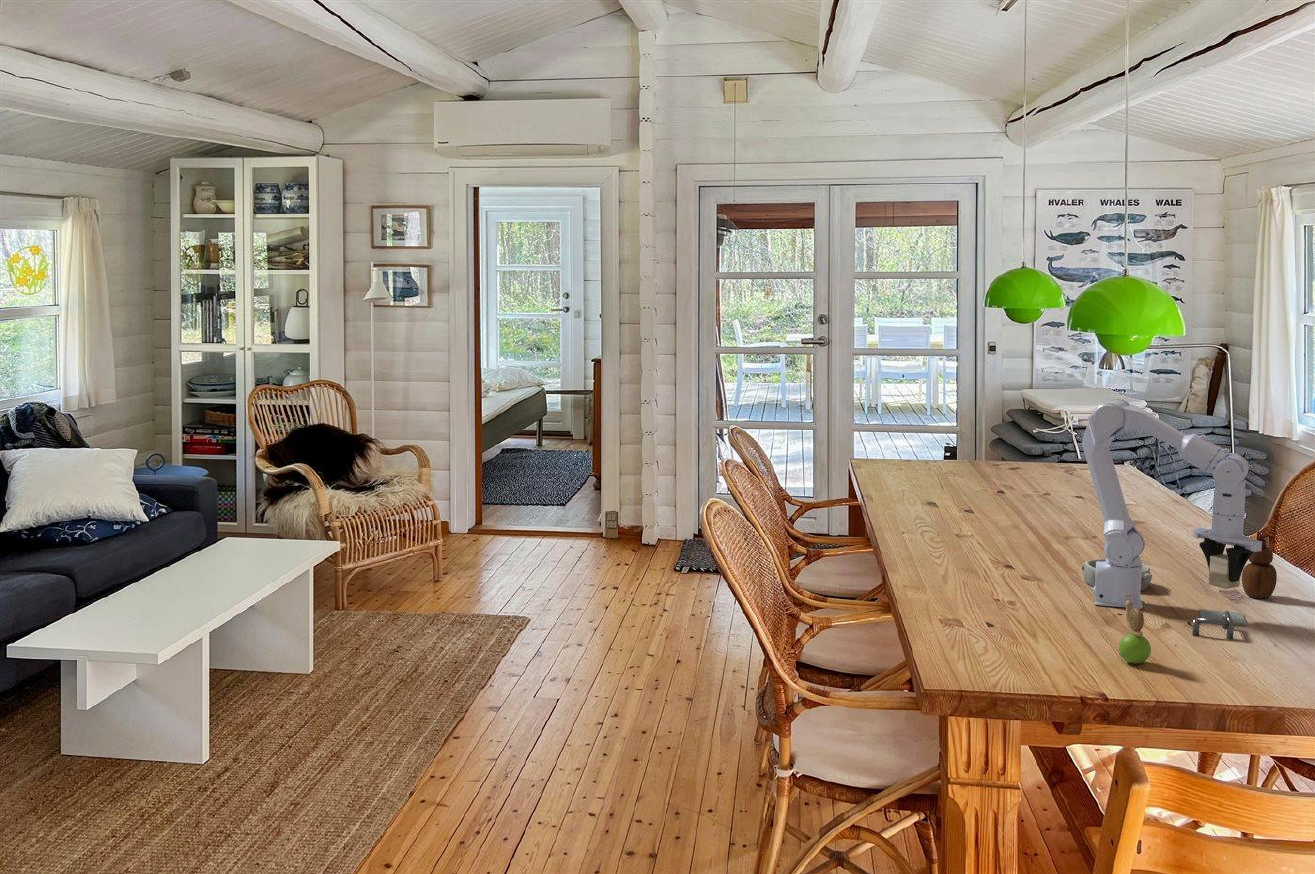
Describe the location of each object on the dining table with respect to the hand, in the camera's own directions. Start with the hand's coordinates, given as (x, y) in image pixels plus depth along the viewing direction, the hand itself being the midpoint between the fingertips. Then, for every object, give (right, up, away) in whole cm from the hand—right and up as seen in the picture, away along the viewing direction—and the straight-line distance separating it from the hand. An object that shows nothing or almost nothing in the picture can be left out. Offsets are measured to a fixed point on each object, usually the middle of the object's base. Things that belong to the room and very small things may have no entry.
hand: (1224, 578), depth 227 cm
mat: (0, -8, +1) cm, 8 cm away
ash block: (0, -1, 0) cm, 1 cm away
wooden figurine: (+16, -6, +16) cm, 24 cm away
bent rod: (-7, -10, -7) cm, 14 cm away
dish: (-11, -5, +28) cm, 30 cm away
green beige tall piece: (-29, -12, -25) cm, 40 cm away
